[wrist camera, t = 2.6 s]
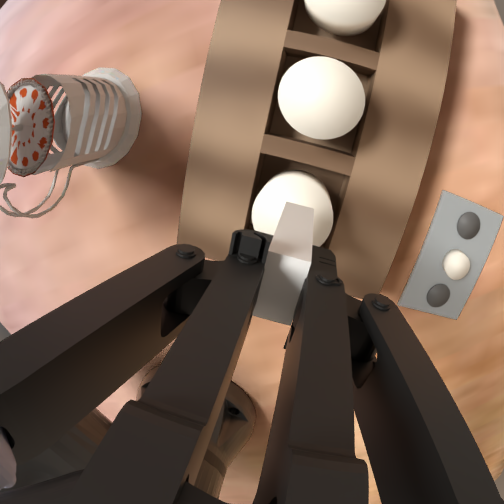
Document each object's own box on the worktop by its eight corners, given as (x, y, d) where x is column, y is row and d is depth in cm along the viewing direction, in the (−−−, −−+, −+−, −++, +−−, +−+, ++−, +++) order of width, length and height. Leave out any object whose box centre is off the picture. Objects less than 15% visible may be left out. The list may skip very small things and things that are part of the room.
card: (455, 318, 26) (460, 326, 25) (397, 303, 27) (400, 312, 26) (502, 215, 22) (510, 220, 20) (442, 189, 22) (449, 193, 21)
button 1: (319, 245, 23) (320, 264, 20) (253, 228, 24) (244, 244, 21) (338, 180, 21) (342, 189, 18) (268, 161, 22) (260, 168, 19)
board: (369, 280, 27) (375, 302, 23) (191, 233, 28) (176, 249, 25) (441, -3, 16) (457, -17, 12) (250, -50, 17) (241, -70, 14)
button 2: (348, 145, 20) (354, 149, 17) (276, 127, 20) (269, 127, 18) (364, 77, 18) (373, 70, 15) (291, 58, 18) (287, 48, 15)
